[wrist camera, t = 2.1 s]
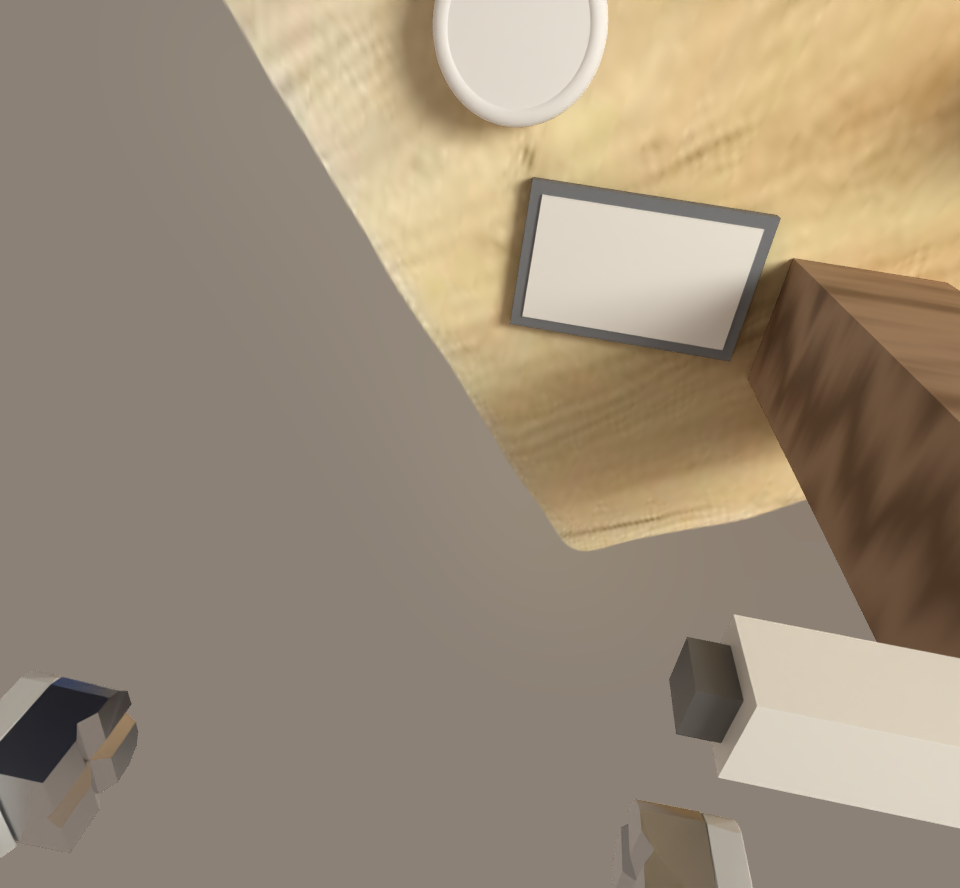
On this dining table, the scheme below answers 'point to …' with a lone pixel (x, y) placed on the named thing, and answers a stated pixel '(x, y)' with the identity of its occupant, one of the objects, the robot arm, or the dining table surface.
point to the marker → (826, 716)
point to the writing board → (639, 268)
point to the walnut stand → (874, 436)
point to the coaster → (519, 55)
